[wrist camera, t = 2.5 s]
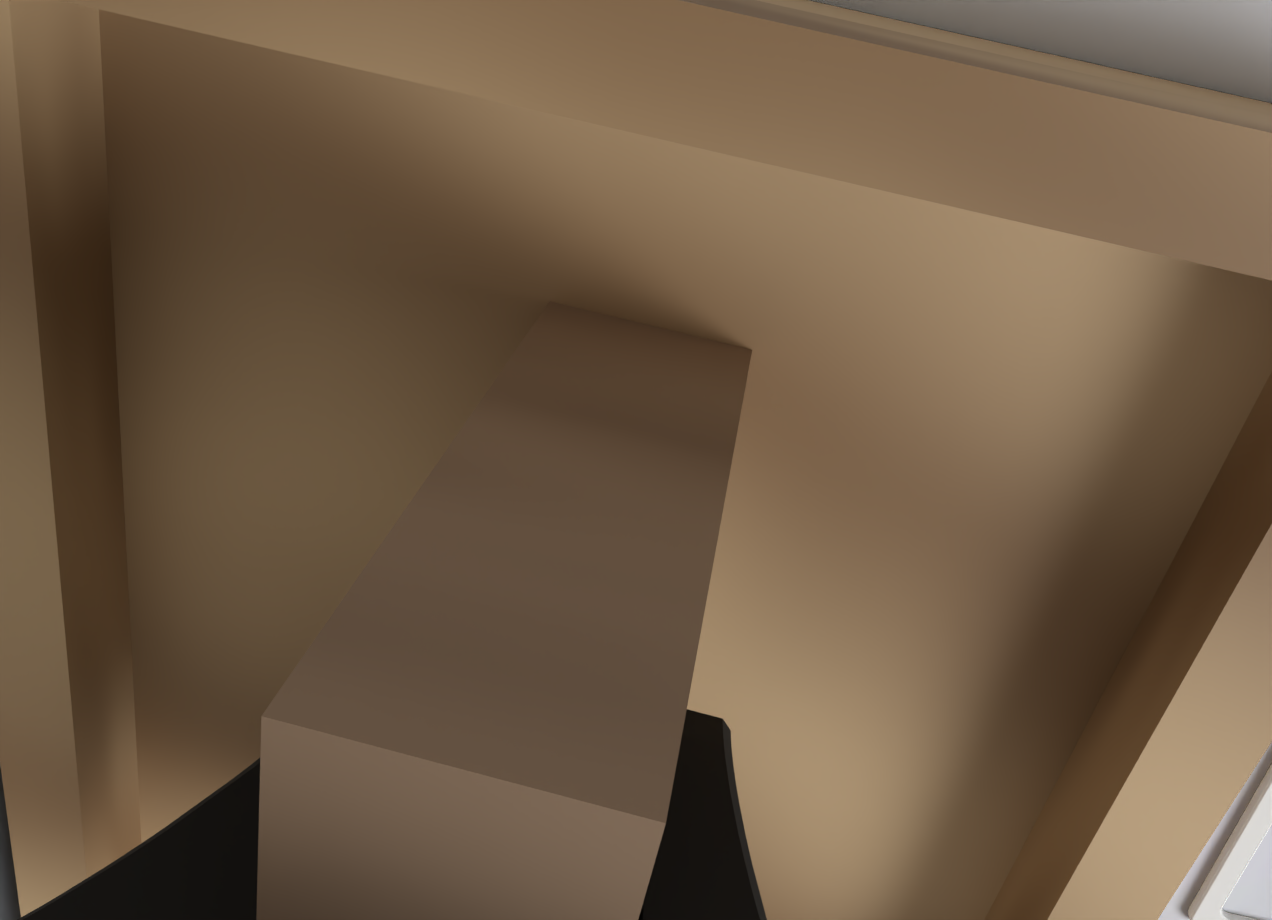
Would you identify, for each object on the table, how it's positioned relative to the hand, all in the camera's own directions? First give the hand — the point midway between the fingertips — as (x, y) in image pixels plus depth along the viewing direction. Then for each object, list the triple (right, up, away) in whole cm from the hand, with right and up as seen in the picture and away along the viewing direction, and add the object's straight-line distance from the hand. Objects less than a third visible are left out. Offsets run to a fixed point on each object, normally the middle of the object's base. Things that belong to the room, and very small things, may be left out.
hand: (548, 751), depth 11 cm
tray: (0, -2, +4) cm, 5 cm away
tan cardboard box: (0, +1, +2) cm, 2 cm away
